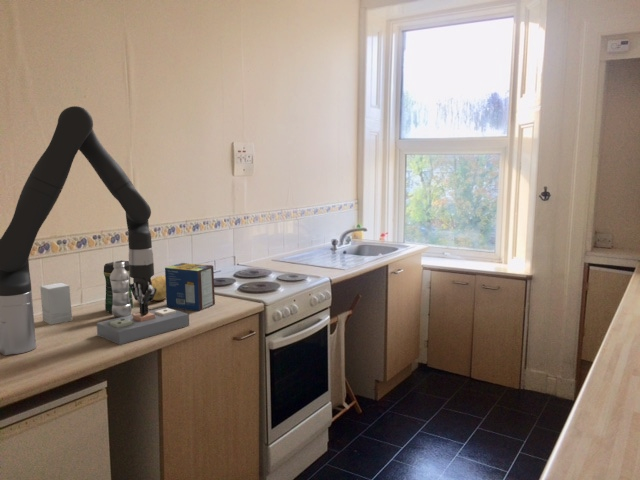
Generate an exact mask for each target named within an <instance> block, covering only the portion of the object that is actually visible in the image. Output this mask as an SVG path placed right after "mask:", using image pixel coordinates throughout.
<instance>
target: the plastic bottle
mask: <svg viewBox="0 0 640 480" xmlns="http://www.w3.org/2000/svg"><path fill="white" fill-rule="evenodd" d="M124 261H125V260H122V261H121V260H116V261H112V262H113V268H114V270H113V271H112V273H111V274H110V282H111V286H112V292H113V305H112V313H111V314H112V316H113V317H114V318H120V317H125V316H129V315H132V309H133V308H131V304H130V299H129V274H128V272H127V271H126V270H125V269H124V267H125V262H124Z"/></svg>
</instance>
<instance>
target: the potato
mask: <svg viewBox="0 0 640 480" xmlns="http://www.w3.org/2000/svg"><path fill="white" fill-rule="evenodd" d="M151 282H152V285H151V286H152V287H153V288H156V290H157V291H156V293H155V295H154V298H153V300H152V301H162V300H164V299H166V279H165V275H159V276H155V277H153V278H152V279H151Z"/></svg>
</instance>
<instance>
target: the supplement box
mask: <svg viewBox="0 0 640 480" xmlns="http://www.w3.org/2000/svg"><path fill="white" fill-rule="evenodd" d="M70 286H71V285H69V284H66V283H63V282H57V283H51V284H45V285H41V286H40V287H39V289H40V300H41V309H42V310H41V312H42V313H41V314H42V321H43V322H44V321H45V323H47V324H48V325H51V326H52V325H58V324H62V323H67V322H71V321H73V316H72V315H73V314H72V302H71V289H70V288H71V287H70Z"/></svg>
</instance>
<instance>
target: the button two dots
mask: <svg viewBox="0 0 640 480" xmlns="http://www.w3.org/2000/svg"><path fill="white" fill-rule="evenodd" d="M131 324H133V322H132V321H131V320H128V319H125V318H123V319H119V320H115V321H111V322H110V325H111V326H114V327H116V328H119V327H123V326H127V325H131Z"/></svg>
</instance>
